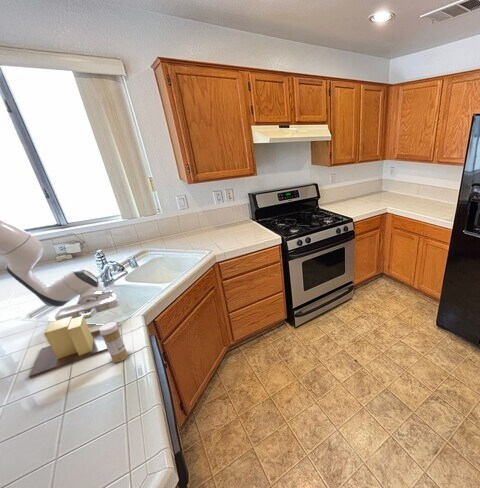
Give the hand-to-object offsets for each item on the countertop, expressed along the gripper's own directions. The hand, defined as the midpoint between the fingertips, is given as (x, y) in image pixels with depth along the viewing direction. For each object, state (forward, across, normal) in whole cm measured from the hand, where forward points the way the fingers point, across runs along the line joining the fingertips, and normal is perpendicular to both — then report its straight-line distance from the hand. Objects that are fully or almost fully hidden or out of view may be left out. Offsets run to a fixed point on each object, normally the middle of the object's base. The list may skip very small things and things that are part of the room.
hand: (86, 317), depth 105 cm
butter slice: (+14, 0, +5) cm, 15 cm away
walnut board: (+12, -3, +6) cm, 13 cm away
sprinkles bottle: (+28, +10, +6) cm, 30 cm away
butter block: (+12, -5, +5) cm, 14 cm away
